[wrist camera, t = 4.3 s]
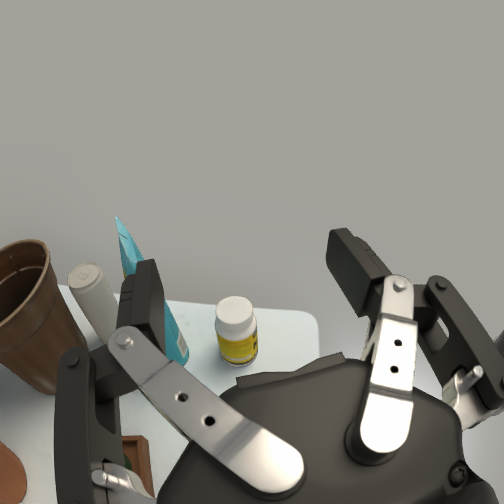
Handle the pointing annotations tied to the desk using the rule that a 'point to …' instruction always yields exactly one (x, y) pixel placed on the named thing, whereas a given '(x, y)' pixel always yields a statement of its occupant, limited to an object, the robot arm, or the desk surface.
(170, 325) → the tube
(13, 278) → the plant pot
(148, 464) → the serving tray
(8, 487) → the potted plant
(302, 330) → the desk surface
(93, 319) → the beverage can
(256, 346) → the supplement bottle
